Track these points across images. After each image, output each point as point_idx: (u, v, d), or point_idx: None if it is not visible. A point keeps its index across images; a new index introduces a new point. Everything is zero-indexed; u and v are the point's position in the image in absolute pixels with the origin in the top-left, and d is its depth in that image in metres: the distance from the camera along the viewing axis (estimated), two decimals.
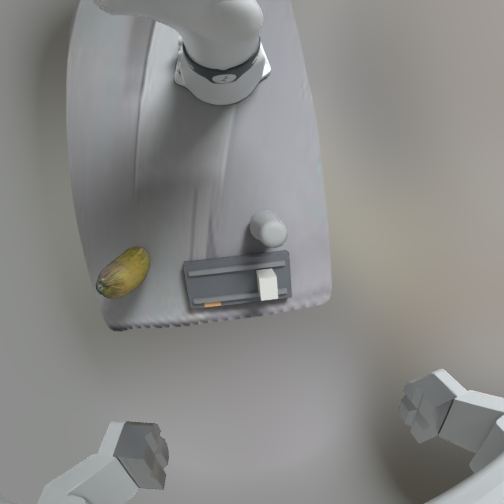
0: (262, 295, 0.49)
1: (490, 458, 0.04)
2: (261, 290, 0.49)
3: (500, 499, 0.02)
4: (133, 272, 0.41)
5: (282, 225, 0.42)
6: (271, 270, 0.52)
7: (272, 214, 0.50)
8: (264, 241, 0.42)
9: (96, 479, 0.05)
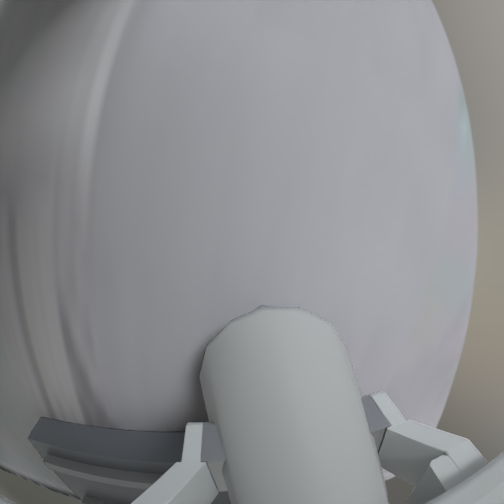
0: None
1: (424, 500, 0.04)
2: None
3: (500, 499, 0.02)
4: None
5: None
6: None
7: (323, 355, 0.08)
8: None
9: (186, 490, 0.05)
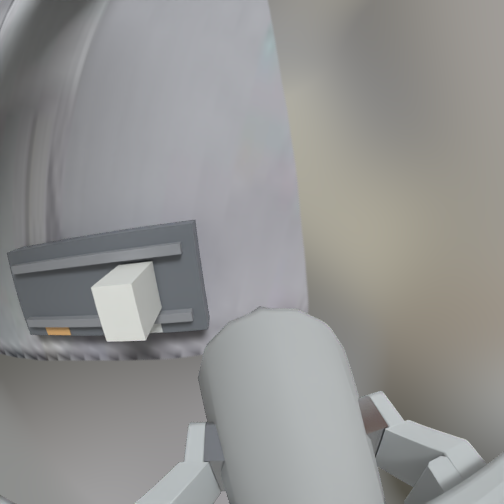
0: (106, 329, 0.17)
1: (423, 501, 0.04)
2: (101, 317, 0.17)
3: (500, 499, 0.02)
4: None
5: None
6: (144, 266, 0.20)
7: (320, 356, 0.08)
8: None
9: (189, 490, 0.05)
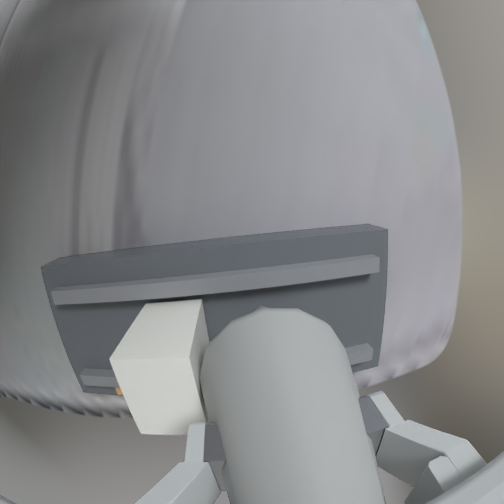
0: (140, 419, 0.09)
1: (423, 500, 0.04)
2: (131, 403, 0.09)
3: (500, 499, 0.02)
4: None
5: None
6: (193, 310, 0.13)
7: (321, 356, 0.08)
8: None
9: (189, 490, 0.05)
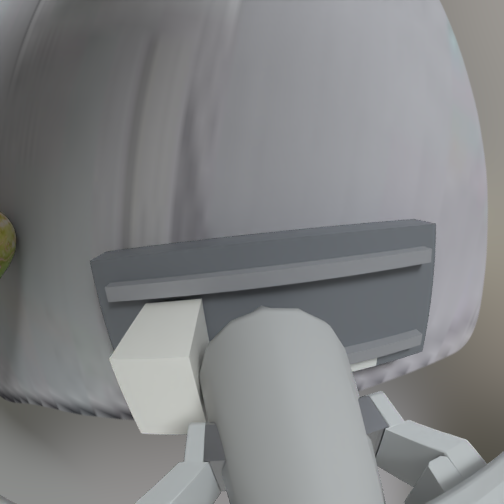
0: (140, 419, 0.09)
1: (423, 500, 0.04)
2: (131, 402, 0.09)
3: (500, 499, 0.02)
4: None
5: None
6: (192, 310, 0.13)
7: (321, 356, 0.08)
8: None
9: (189, 490, 0.05)
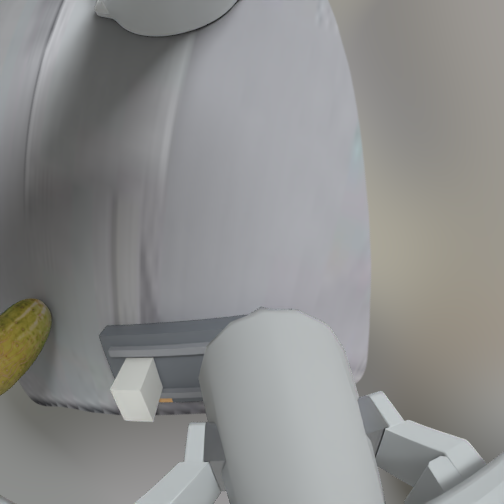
0: (124, 413, 0.21)
1: (423, 501, 0.04)
2: (119, 406, 0.21)
3: (500, 499, 0.02)
4: None
5: None
6: (147, 364, 0.24)
7: (321, 357, 0.08)
8: None
9: (189, 490, 0.05)
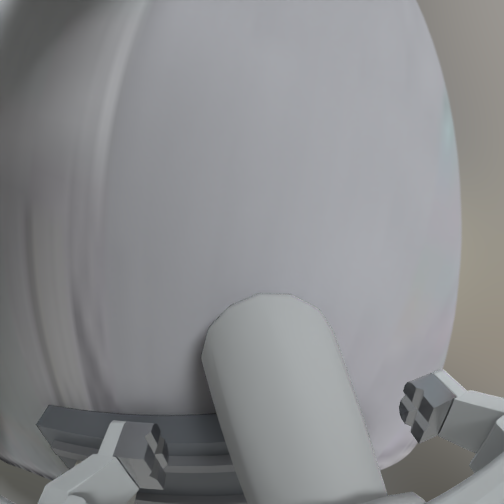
0: None
1: (491, 458, 0.04)
2: None
3: (500, 499, 0.02)
4: None
5: None
6: None
7: (312, 332, 0.09)
8: None
9: (96, 479, 0.05)
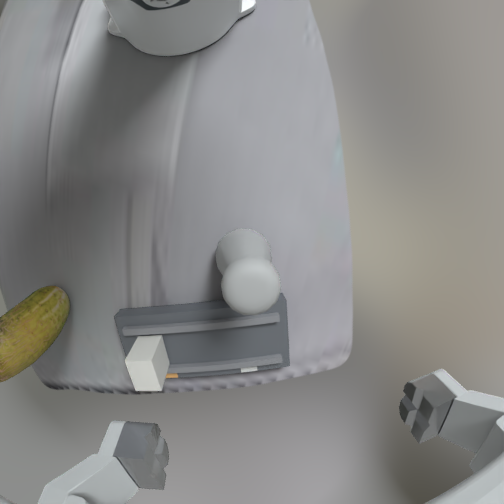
0: (135, 384, 0.26)
1: (491, 458, 0.04)
2: (132, 377, 0.26)
3: (500, 499, 0.02)
4: (22, 341, 0.19)
5: (269, 271, 0.19)
6: (157, 340, 0.29)
7: (255, 237, 0.27)
8: (231, 303, 0.20)
9: (96, 479, 0.05)
